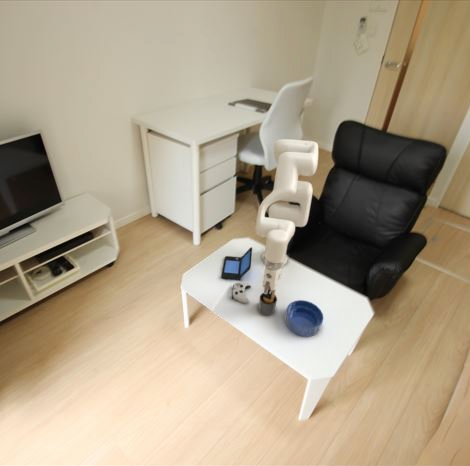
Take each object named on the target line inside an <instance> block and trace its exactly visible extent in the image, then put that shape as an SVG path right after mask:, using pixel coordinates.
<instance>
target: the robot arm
mask: <svg viewBox="0 0 470 466" xmlns="http://www.w3.org/2000/svg"><path fill="white" fill-rule="evenodd" d="M273 144H274V145H273V154H274V159H275V162H276V170H275V177H274V182H273V188H272V191H271V192H270V193H269V194H268V195H266V196H265V198H264V199H263V200H262V202H261V203H260V205H259V207H258V209H257V215H256V220H255V233H256V235H257V236H258V237H260V238H266V239H265V247H264V251H263V252H262V254H261V260H262V261H263V265H264V266H265V268H264V271H263V278H262V288H263V293H264V294H263V297H264V298H267V299H271V297H272V290H275V291H276V290H277V287H278V284H279V282H280V280H281V276H282V272H283V268H284V267H285V265H286V264H287V263H288V255H287V250H288V245H289V243H290V241H291V239H292V238H293V236H294V235H295V232H296V227H299V228H303V227H305V226H306V225H307V224H308V221H309V216H310V212H311V211H310V210H311V204H312V199H313V189H314V188H313V185H312V183H311V182H309V181H305V180H299V177H300V176H303V177H313V176H314V175H315V174H316V172H317V169H318V165H319V144H318V143H317V142H316V141H313V140H303V139H290V138H282V139H281V138H280V139H277V140H276V141H275V142H274V143H273ZM278 201H281V202H278ZM283 202H289V203H283ZM292 203H296V204H292ZM298 204H299V205H298ZM267 209H268V217H267V216H266V212H267ZM264 287H265V288H264ZM269 288H270V290H268V289H269Z"/></svg>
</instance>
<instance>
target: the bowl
mask: <svg viewBox="0 0 470 466" xmlns="http://www.w3.org/2000/svg"><path fill="white" fill-rule="evenodd" d="M323 322H324V314H323V312H322V310H321V309H320V308H319V306H318V305H316V304H315V303H313V302H311V301H308V300H304V299H303V300H301V299H298V300H294V301H292V302H290V303H289V304H288V305H287V307H286V310H285V314H284V323H285V326H286V327H287V328H288V329H289V331H291V333H293V334H295V335H297V336H300V337H304V338H308V337H313V336H315V335H317V334H318V333H319V332H320V331H321V329H322V325H323Z"/></svg>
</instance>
